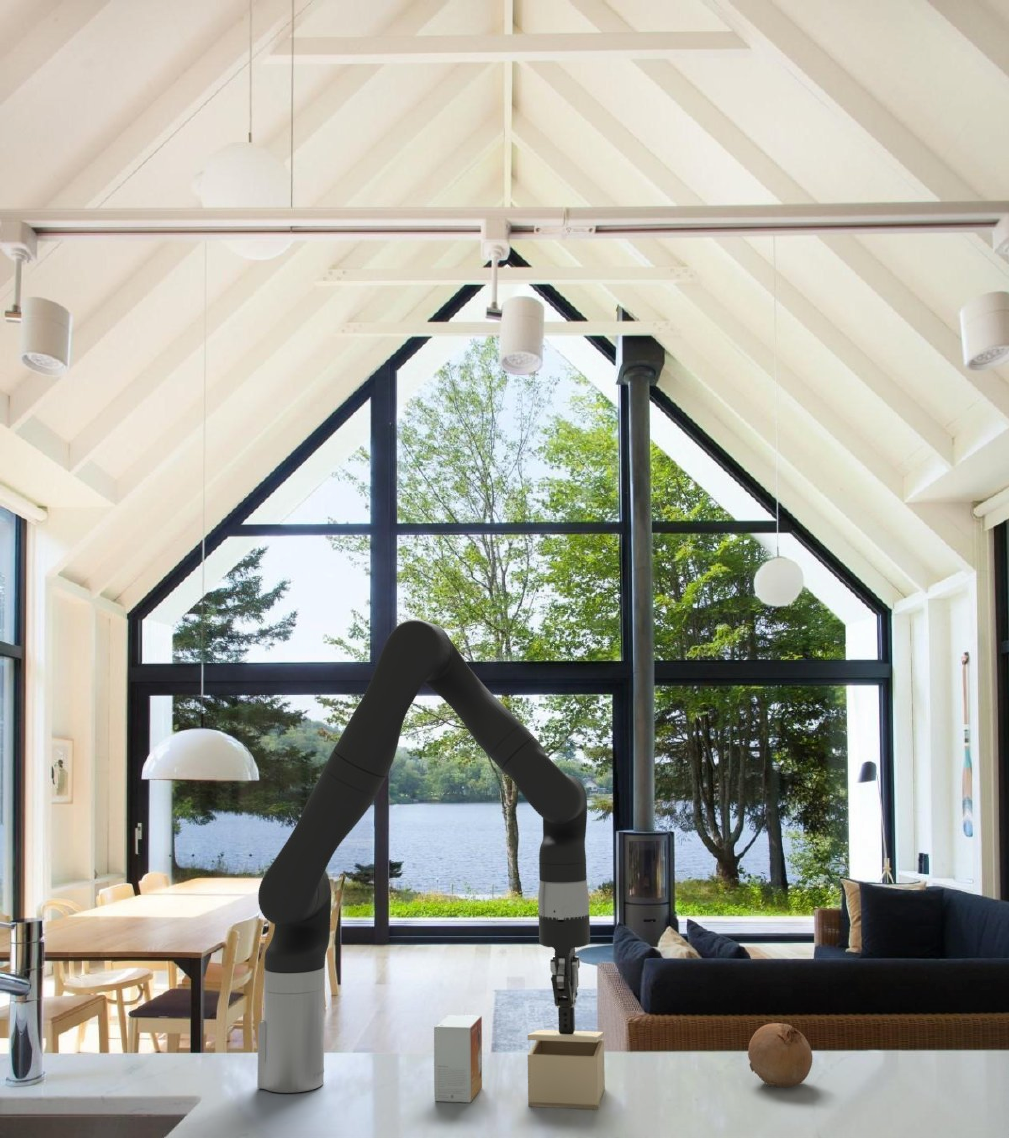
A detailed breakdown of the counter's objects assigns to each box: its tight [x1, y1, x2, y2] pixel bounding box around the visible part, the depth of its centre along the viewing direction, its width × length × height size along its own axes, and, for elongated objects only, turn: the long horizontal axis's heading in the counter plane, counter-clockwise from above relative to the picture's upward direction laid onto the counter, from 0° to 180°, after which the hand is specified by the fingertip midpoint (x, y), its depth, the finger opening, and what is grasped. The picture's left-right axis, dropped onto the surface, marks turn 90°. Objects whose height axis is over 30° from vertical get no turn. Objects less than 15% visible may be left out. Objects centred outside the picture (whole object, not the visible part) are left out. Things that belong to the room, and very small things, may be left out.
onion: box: [747, 1022, 813, 1089], centre depth 180 cm, size 10×9×10 cm
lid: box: [527, 1029, 605, 1042], centre depth 175 cm, size 10×10×1 cm
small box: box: [433, 1014, 483, 1103], centre depth 177 cm, size 8×6×10 cm
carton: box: [527, 1039, 606, 1110], centre depth 175 cm, size 10×10×7 cm
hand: (567, 1033), depth 174 cm, fingers closed
